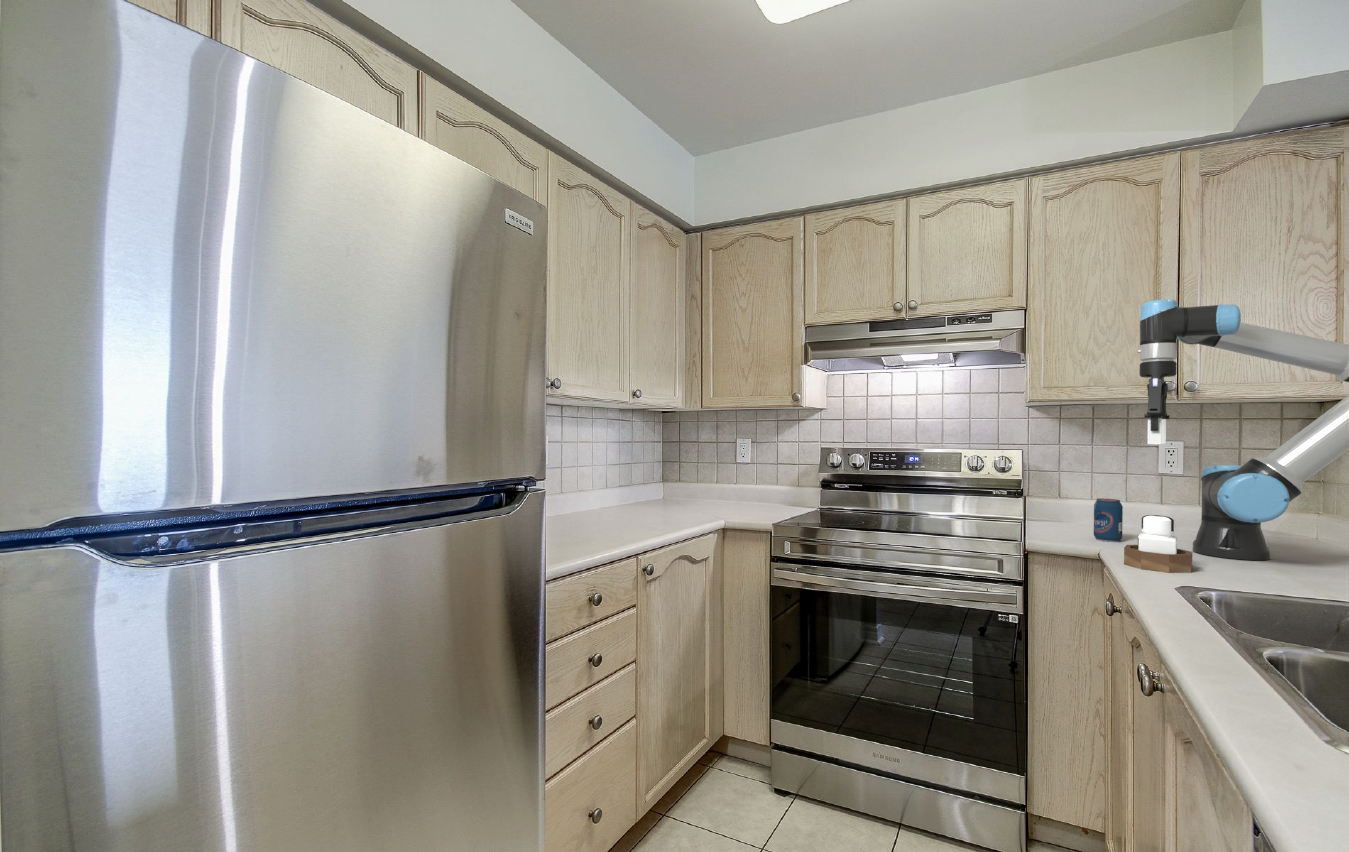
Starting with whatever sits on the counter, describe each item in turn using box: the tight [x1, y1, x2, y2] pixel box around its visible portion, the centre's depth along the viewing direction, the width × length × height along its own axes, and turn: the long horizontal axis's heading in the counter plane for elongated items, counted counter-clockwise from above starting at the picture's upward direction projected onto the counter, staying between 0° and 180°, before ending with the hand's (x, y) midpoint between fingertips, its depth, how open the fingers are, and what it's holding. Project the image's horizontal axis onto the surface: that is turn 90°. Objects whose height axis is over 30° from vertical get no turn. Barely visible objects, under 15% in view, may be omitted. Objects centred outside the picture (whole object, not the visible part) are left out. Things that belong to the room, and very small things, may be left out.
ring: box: [1123, 544, 1193, 574], centre depth 148 cm, size 12×12×4 cm
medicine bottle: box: [1137, 514, 1178, 554], centre depth 148 cm, size 7×7×12 cm
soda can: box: [1093, 497, 1124, 543], centre depth 184 cm, size 7×7×12 cm
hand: (1157, 444), depth 161 cm, fingers open, 13 cm apart
